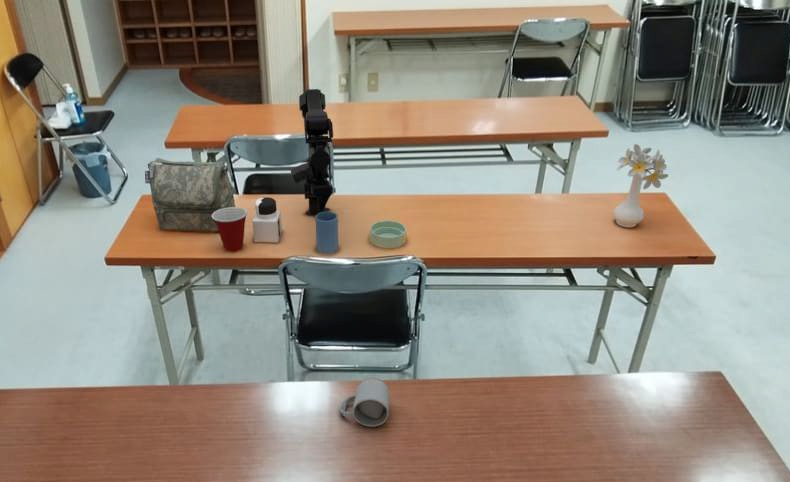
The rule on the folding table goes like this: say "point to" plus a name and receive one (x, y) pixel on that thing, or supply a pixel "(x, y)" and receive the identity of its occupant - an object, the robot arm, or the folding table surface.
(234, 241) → the plastic cup
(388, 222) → the bowl
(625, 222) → the flower vase
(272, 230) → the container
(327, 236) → the tumbler
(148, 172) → the lunch bag
